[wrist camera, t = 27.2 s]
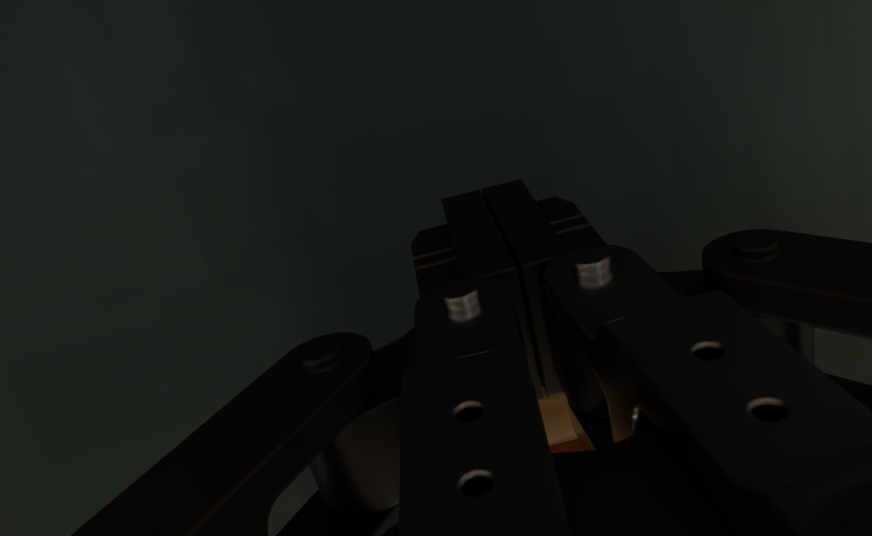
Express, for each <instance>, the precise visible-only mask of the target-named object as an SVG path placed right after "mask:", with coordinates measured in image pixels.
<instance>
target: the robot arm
mask: <svg viewBox="0 0 872 536" xmlns="http://www.w3.org/2000/svg"><path fill="white" fill-rule="evenodd" d="M482 194H483V196H482ZM482 194H481V192H480V190H476V191H472V192H468V193H464V194H460V195H456V196H452V197H448V198H444V199H441V200H442V205H443V210H444V214H445V218H446V222H447V224H445V225H441V226H437V227H433V228H429V229H425V230H421V231H419V233H418V235H417V236H416V238H415V239H414V241H413V242H412V244H411V249H412V254H413V259H414V266H415V271H416V277H417V282H418V288H419V293H420V299H419V300H418V301H417V303H416V305H415V327H414V328H413V329H412V330H411V331H410V332H408V333H407V334H406V335H404V336H403V337H401V338H400V339H398V340H396V341H394V342H392V343H390V344H388V345H386V346H384V347H382V348H380V349H377V350H375V351H373V349H372V346H371V343H370V342H369V340H368V339H367V338H365V337H364V336H362V335H359V334H355V333H346V332H345V333H333V334H328V335H323V336H320V337H317V338H314V339H311V340H309V341H306V342H304V343H302V344H300V345H299V346H297V347H295V348H294V349H292V350H291V351H289V352H288V353H287V354H286V355H284V356H283V357H282V358H281V359H280V360H278V361H277V362H276V363H275V364H274V365H273V366H271V367H270V368H269V369H268V370H267V371H265V372H264V373H263V374H262V375H261V376H260V377H258V378H257V379H256V380H255V381H254V382H252V383H251V384H250V385H249V386H248V387H246V388H245V389H244V390H243V391H242V392H241V393H239V394H238V395H237V396H236V397H235V398H233V399H232V400H231V401H230V402H229V403H227V404H226V405H225V406H224V407H223V408H222V409H220V410H219V411H218V412H217V413H216V414H214V415H213V416H212V417H211V418H210V419H209V420H207V421H206V422H205V423H204V424H203V425H201V426H200V427H199V428H198V429H197V430H195V431H194V432H193V433H192V434H191V435H190V436H188V437H187V438H186V439H185V440H184V441H182V442H181V443H180V444H179V445H178V446H177V447H175V448H174V449H173V450H172V451H171V452H169V453H168V454H167V455H166V456H165V457H163V458H162V459H161V460H160V461H159V462H158V463H156V464H155V465H154V466H153V467H152V468H150V469H149V470H148V471H147V472H146V473H145V474H143V475H142V476H141V477H140V478H139V479H137V480H136V481H135V482H134V483H133V484H131V485H130V486H129V487H128V488H127V489H126V490H124V491H123V492H122V493H121V494H120V495H118V496H117V497H116V498H115V499H114V500H112V501H111V502H110V503H109V504H108V505H107V506H105V507H104V508H103V509H102V510H101V511H99V512H98V513H97V514H96V515H95V516H94V517H92V518H91V519H90V520H89V521H88V522H86V523H85V524H84V525H83V526H82V527H80V528H79V529H78V530H77V531H76V532H75V533H73V534H72V535H71V536H268V529H267V524H268V518H269V514H270V511H271V508H272V506H273V504H274V502H275V501H276V499H277V498H278V496H279V495H280V494H281V493H282V492H283V491H284V490H285V489H286V488H287V487H288V486H289V485H290V484H291V482H292V481H293V480H294V479H295V478H296V477H297V476H298V475H299V474H300V473H301V472H302V471H303V470H304V469H305V468H306V467H307V466H308V465H310V468H311V470H312V473H313V475H314V478H315V481H316V483H317V486H318V488H319V489H318V490H317V491H316V493H315V494H314V495H313V496H312V497H311V498H310V499H309V500H308V501H307V502H306V503H305V504H304V506H303V507H302V508H301V509H300V510H299V511H298V512H297V513H296V514H295V515H294V516H293V518H292V519H291V520H290V521H289V522H288V523H287V524H286V525H285V526H284V527H283V528H282V530H281V531H280V532H279V533H278V534H277V535H276V536H872V386H871V385H868V384H864V383H860V382H856V381H852V380H848V379H845V378H841V377H837V376H833V375H829V374H826V373H824V372H822V371H821V370H820V369H819V368H818V367H816V366H815V350H814V327H816V328H821V329H825V330H830V331H835V332H839V333H844V334H848V335H853V336H857V337H862V338H866V339H871V340H872V243H868V242H861V241H853V240H846V239H839V238H831V237H824V236H817V235H809V234H802V233H795V232H787V231H780V230H770V229H756V230H745V231H739V232H734V233H730V234H727V235H724V236H721V237H719V238H717V239H715V240H713V241H712V242H710V243H709V244H708V245H707V246H706V247H705V248H704V250H703V251H702V266H703V270H691V271H679V272H657V271H656V270H655V269H653V268H652V267H651V266H650V265H649V264H648V263H647V262H646V261H645V260H644V259H642V258H641V257H640V256H639V255H638V254H637V253H635V252H634V251H633V250H630V249H628V248H625V247H622V246H616V245H607V244H606V243H605V242H604V241H603V239H602V238H601V237H600V236H599V234H598V233H597V232H596V231H595V229H594V228H593V227H592V226H590V223H589V222H588V221H587V219H586V218H585V217H583V214H582V213H581V212H580V211H579V209H578V208H577V207H576V205H575V204H574V203H572V202H569V201H566V200H563V199H560V198H558V197H551V198H547V199H543V200H539V201H535V200H534V198H533V197H532V195H531V194H530V192H529V191H528V189H527V188H526V186H525V185H524V183H523V182H522V180H521V179H519V180H515V181H511V182H507V183H503V184H499V185H495V186H491V187H487V188H483V189H482ZM539 378H540V379H539ZM540 380H541V383H542V385H543V388H544V390H545V393H546V395H547V397H548V398H549V397H552V396H556V395H560V394H564V393H565V395H566V397H567V401H568V406H569V411H570V417H571V422H572V427H573V429H574V431H575V433H576V435H577V437H578V438H579V440H580V442H581V444H582V445H583V447H584V449H585V451H574V452H560V453H551V451H550V447H549V443H548V439H547V435H546V431H545V427H544V423H543V419H542V415H541V411H540V407H539V403H538V400H541V399H543V394H542V389H541V384H540Z"/></svg>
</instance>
